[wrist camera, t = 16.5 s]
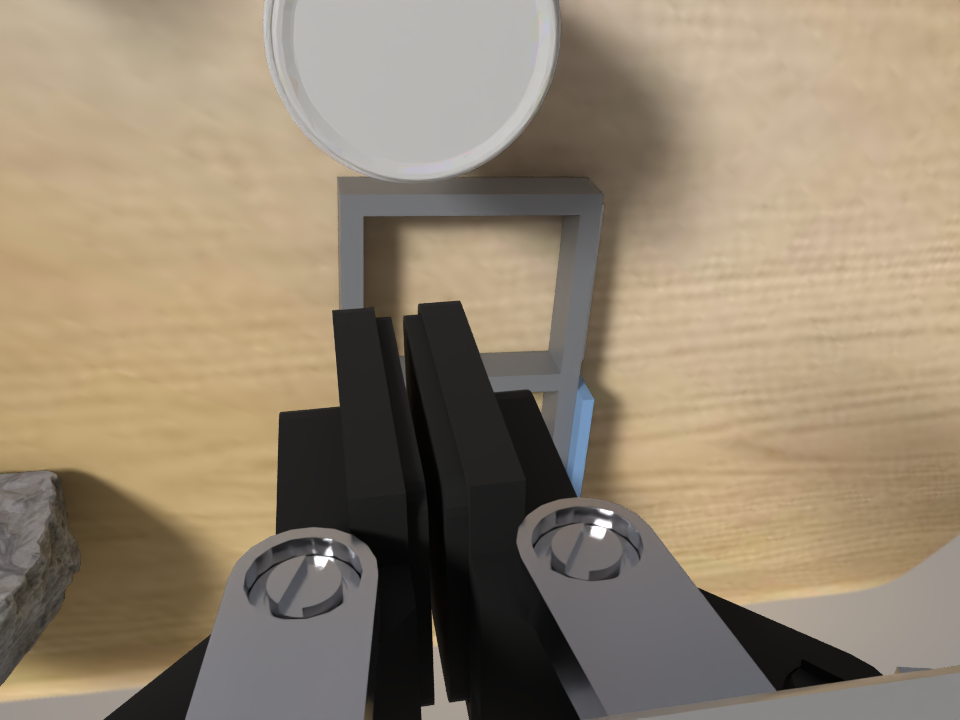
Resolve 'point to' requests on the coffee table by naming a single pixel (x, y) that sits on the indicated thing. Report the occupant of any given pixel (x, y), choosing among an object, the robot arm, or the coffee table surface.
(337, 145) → the cream lidded canister
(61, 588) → the decorative rock
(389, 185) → the divided sorting tray
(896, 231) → the coffee table surface
